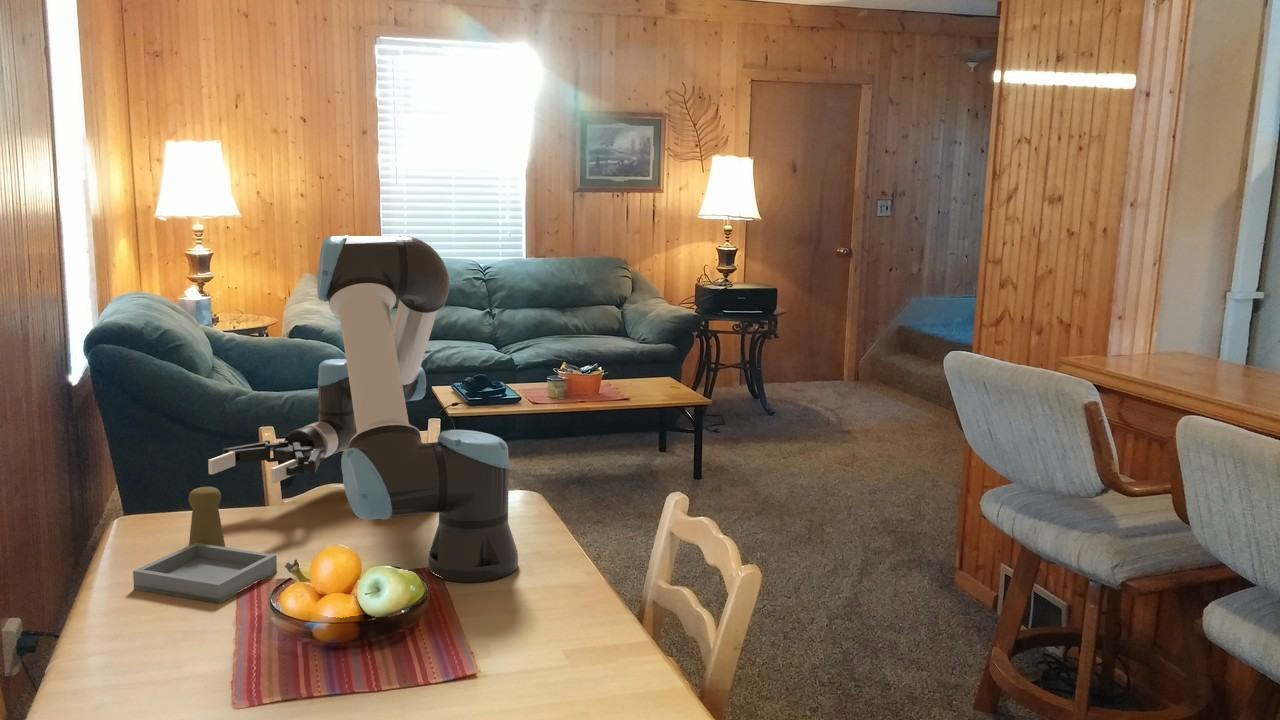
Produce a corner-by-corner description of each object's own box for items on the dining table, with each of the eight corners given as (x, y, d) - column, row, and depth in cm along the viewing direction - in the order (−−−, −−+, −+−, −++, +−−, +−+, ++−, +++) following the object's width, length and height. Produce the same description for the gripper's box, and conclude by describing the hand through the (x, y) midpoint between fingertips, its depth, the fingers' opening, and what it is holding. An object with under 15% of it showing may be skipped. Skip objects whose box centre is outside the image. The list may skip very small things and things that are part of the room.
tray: (276, 572, 168) (276, 554, 168) (219, 603, 155) (218, 584, 154) (196, 559, 172) (195, 542, 172) (133, 589, 159) (133, 571, 159)
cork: (231, 544, 180) (229, 484, 179) (214, 555, 174) (212, 494, 173) (199, 542, 181) (197, 482, 179) (181, 553, 175) (178, 492, 173)
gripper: (364, 469, 203) (300, 499, 183) (258, 455, 210) (185, 483, 190) (364, 432, 202) (299, 459, 181) (257, 420, 208) (183, 444, 188)
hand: (241, 471), depth 186 cm, fingers open, 13 cm apart
